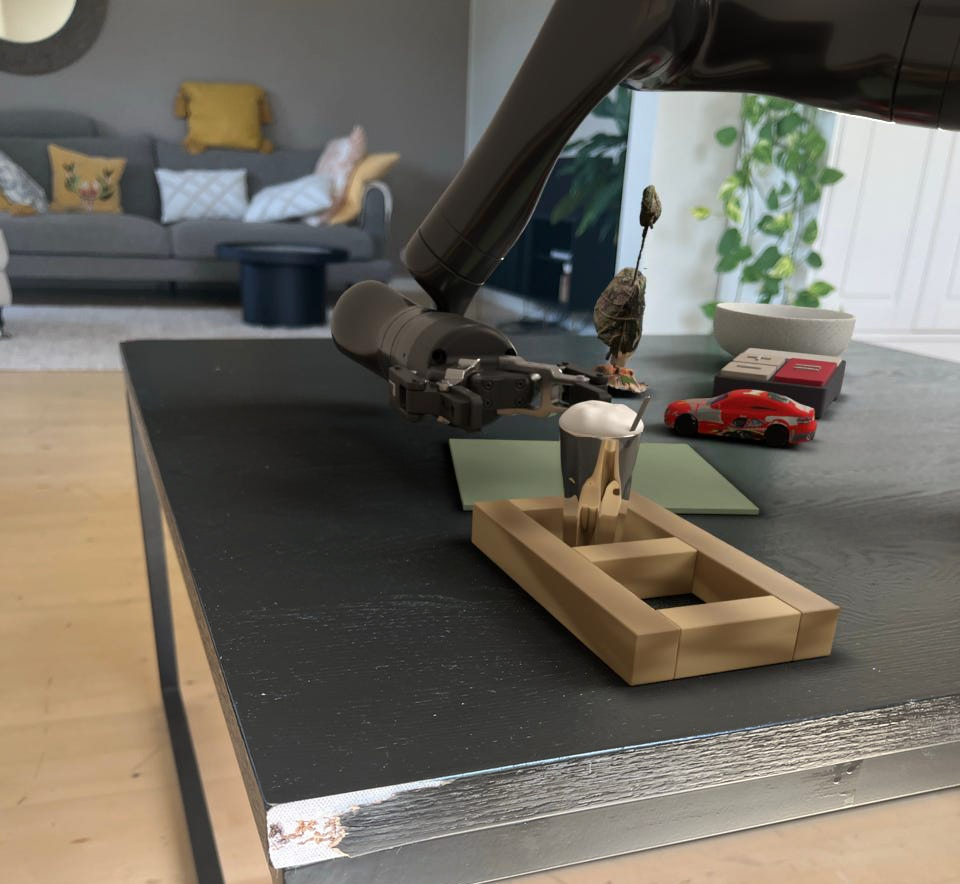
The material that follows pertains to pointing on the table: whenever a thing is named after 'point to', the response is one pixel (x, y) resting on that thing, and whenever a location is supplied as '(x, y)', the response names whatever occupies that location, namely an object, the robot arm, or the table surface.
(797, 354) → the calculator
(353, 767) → the table surface
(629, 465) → the milkshake
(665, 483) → the mat
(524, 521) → the frame
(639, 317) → the plant with pod
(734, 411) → the race car
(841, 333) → the cereal bowl
